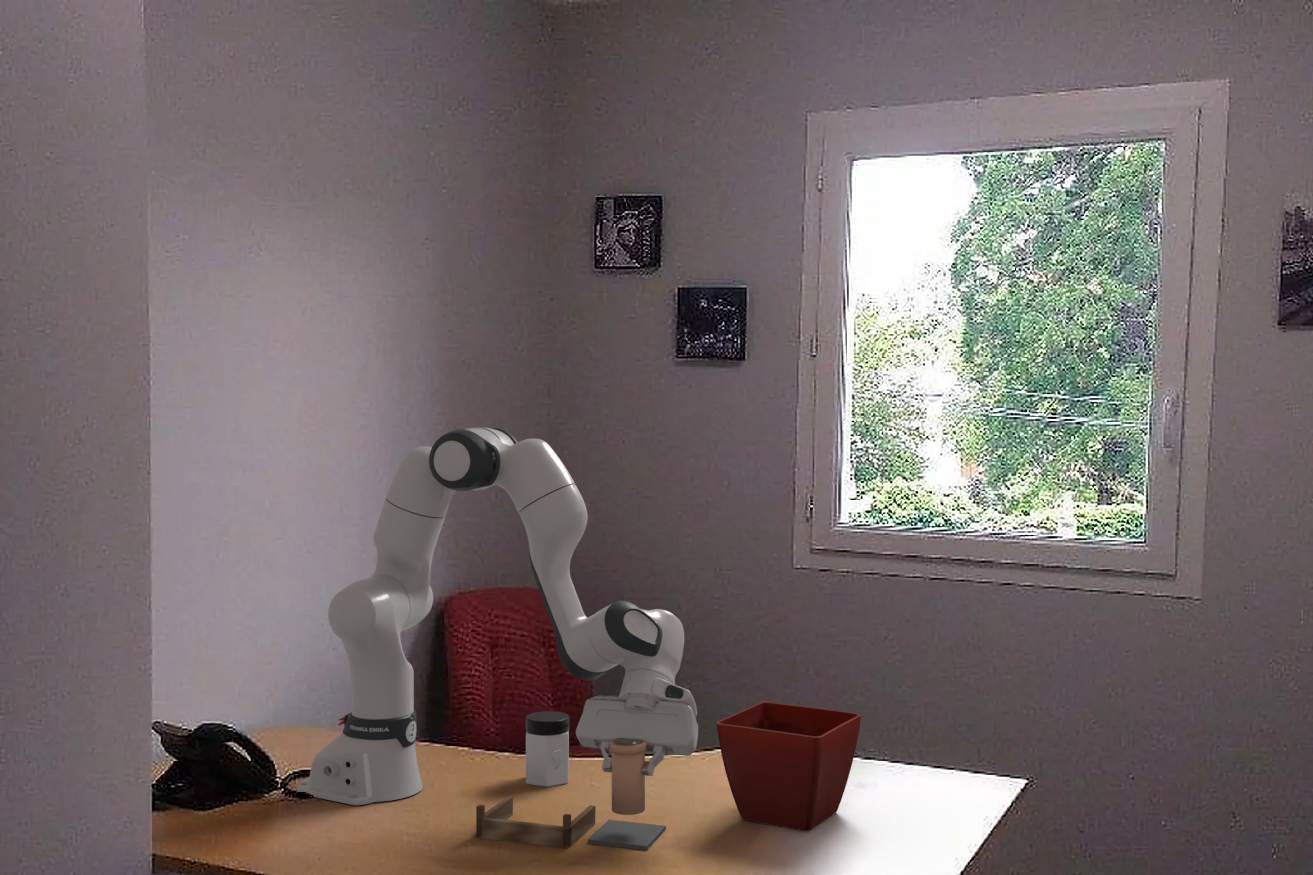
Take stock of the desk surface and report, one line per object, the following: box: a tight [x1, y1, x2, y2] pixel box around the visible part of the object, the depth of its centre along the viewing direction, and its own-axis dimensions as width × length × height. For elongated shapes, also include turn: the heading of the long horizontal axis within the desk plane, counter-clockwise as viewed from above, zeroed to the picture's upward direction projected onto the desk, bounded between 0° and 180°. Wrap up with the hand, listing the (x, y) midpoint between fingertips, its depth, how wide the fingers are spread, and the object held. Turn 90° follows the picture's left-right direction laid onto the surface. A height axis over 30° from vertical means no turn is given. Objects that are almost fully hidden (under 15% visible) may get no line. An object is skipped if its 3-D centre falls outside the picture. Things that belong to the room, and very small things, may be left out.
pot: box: [609, 738, 647, 816], centre depth 193 cm, size 6×6×11 cm
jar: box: [525, 710, 571, 788], centre depth 223 cm, size 9×8×12 cm
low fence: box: [475, 796, 596, 849], centre depth 196 cm, size 16×12×5 cm
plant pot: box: [716, 701, 862, 832], centre depth 204 cm, size 19×19×17 cm
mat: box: [586, 819, 667, 851], centre depth 193 cm, size 10×10×1 cm
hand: (626, 772), depth 193 cm, fingers closed on pot, 5 cm apart
